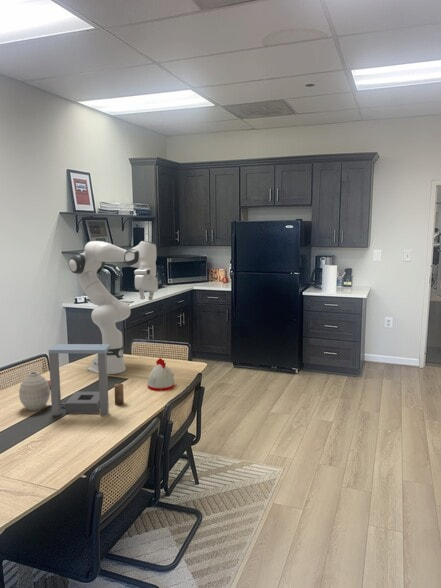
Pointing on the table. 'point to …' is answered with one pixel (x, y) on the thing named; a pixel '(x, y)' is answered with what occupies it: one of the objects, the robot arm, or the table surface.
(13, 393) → the table surface
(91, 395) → the socket station
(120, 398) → the peg
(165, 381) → the kitchen timer
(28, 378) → the vase
